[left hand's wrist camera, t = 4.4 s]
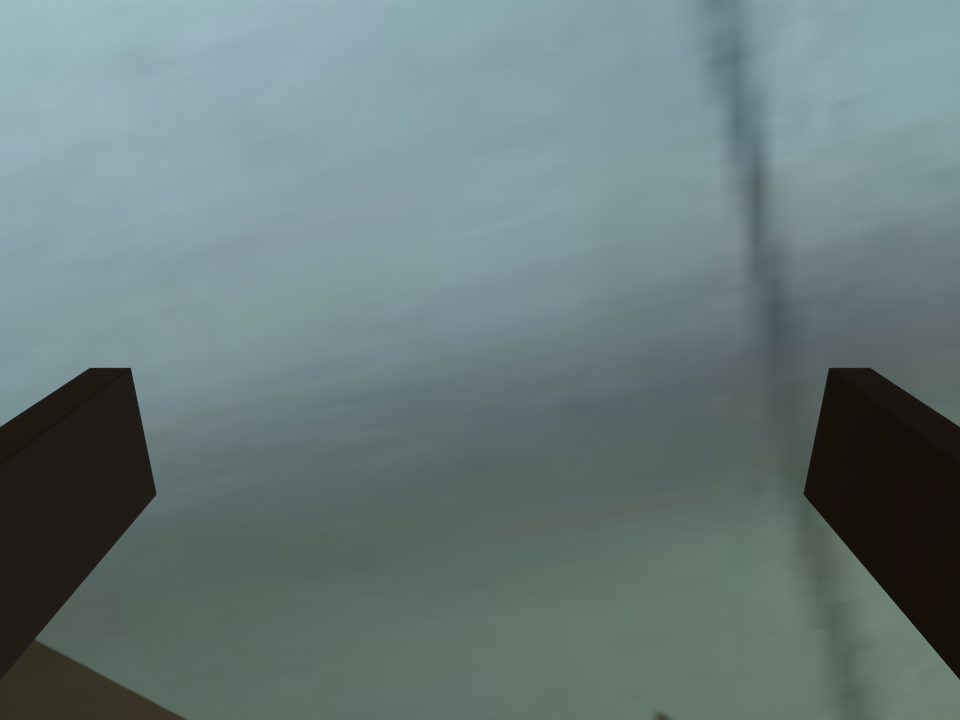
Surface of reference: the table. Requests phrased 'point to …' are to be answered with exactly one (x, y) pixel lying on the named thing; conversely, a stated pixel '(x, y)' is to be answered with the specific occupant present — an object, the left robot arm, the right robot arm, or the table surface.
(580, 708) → the table surface
